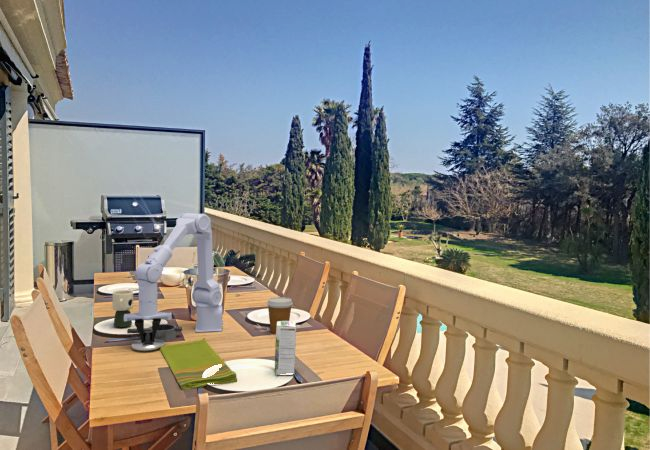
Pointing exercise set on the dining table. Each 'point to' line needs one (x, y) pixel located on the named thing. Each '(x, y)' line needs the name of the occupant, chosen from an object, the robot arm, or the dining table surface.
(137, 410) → the dining table surface
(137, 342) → the lid
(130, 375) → the dining table surface
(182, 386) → the dish towel
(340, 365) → the dining table surface
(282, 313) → the disposable coffee cup
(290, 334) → the syrup box
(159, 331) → the cooker base
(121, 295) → the character mug
